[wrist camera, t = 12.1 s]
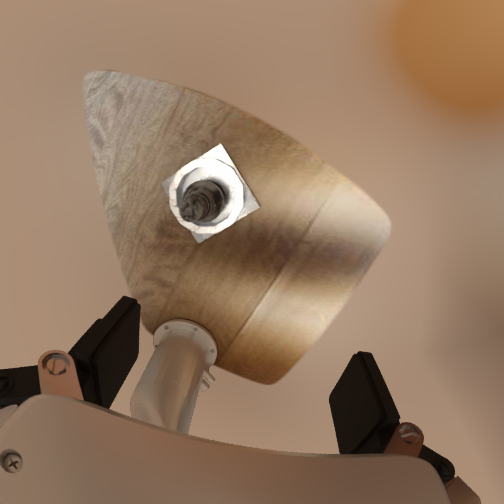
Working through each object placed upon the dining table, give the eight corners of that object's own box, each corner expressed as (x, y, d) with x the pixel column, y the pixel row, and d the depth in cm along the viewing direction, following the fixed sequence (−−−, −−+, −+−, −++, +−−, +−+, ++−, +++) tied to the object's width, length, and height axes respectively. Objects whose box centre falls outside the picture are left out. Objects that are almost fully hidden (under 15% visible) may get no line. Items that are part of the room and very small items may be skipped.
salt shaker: (181, 200, 41) (151, 216, 30) (205, 170, 40) (182, 174, 28) (210, 225, 42) (191, 250, 31) (235, 196, 41) (224, 210, 30)
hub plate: (260, 206, 42) (259, 210, 39) (200, 241, 45) (194, 248, 41) (222, 144, 40) (218, 142, 36) (162, 183, 42) (154, 185, 38)
